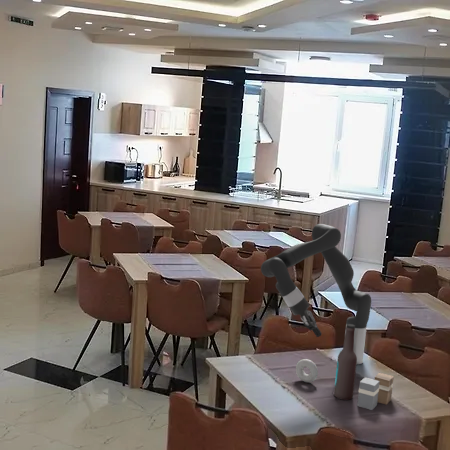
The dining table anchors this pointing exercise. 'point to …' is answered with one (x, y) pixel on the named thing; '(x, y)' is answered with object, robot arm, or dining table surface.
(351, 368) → the beer bottle
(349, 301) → the robot arm
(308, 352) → the dining table surface
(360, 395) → the slate block
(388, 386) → the tan block
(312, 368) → the donut
